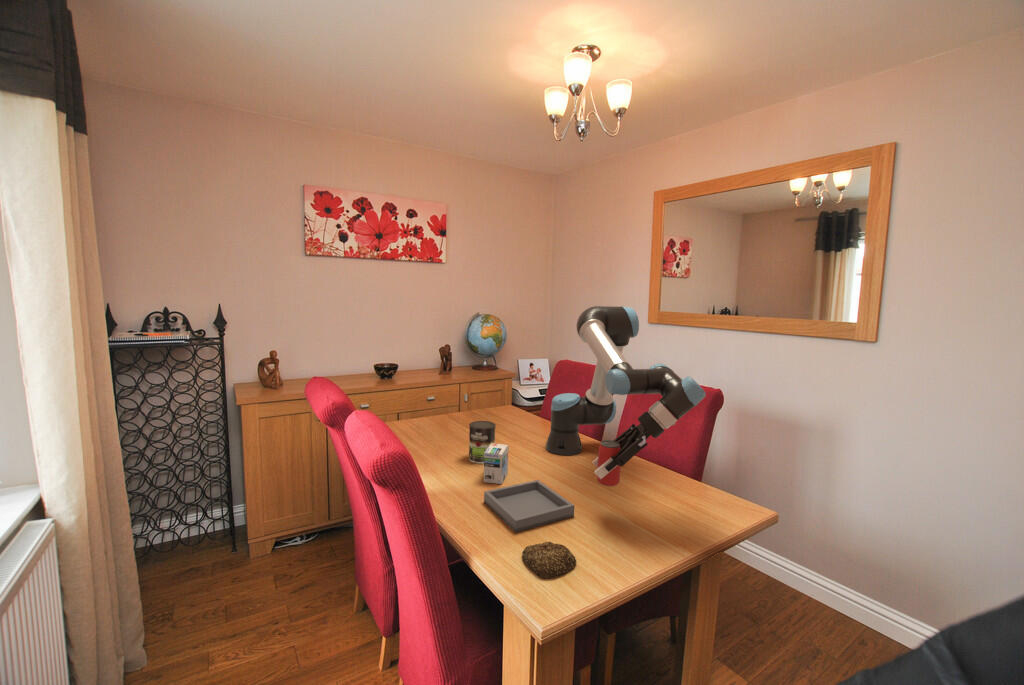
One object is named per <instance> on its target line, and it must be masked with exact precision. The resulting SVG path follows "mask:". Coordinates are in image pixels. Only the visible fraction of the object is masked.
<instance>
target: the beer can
mask: <svg viewBox="0 0 1024 685" xmlns="http://www.w3.org/2000/svg"><path fill="white" fill-rule="evenodd" d="M620 450H621V448H620V444H619V443H618V442H616V441H613V440H609V439H608V440H607V439H606V440H602V441H600V445H599V447H598V455H597V458H598V468H599V467H600V466H601V465H603V464H604V463H605V462H606V461H607V460H609V459H610V458H611V456H613V457H614V456H615V455H616V454H617V453H618V452H619V451H620ZM598 468H597V469H598ZM596 481H597V482H598V483H599V484H600V485H602V486H605V487H615V486H618V485H619V483H621V482H620V481H621V466H620V465H619V466H616V467H615V468H614V469H613V470H612V471H610V472H609V473H608V474H607V475H606V476H604V477H603V478H602V479H600V478H599V477H598V476H597V475H596Z"/></svg>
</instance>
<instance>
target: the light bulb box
mask: <svg viewBox="0 0 1024 685" xmlns="http://www.w3.org/2000/svg"><path fill="white" fill-rule="evenodd" d="M508 473H509V445H508V444H502V443H496V442H495V443H491V444H490V446H489V447H488V448H487V450H486V451H485V452H484V464H483V483H488V484H496V485H497V484H498V485H502V484H503V482H504V481H505V479H506V478H507V476H508V475H509V474H508Z"/></svg>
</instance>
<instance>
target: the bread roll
mask: <svg viewBox="0 0 1024 685" xmlns="http://www.w3.org/2000/svg"><path fill="white" fill-rule="evenodd" d="M523 549H524V550H523V551H522V554H521V555H522V560H523V562H524V563H525V565H527V567H528V568H529V569H530V570H531V571H532V572H534V573H535V574H536V575H537V576H538V577H540V578H542V579H553V578H554V579H555V578H557V577H560V576H564V575H566V574H567V573H568V572H570V571H571V570H573V569H575V567H576V565H577V559H576V557H575V555H574V554H573V553H572V552H571V550H570V549H569V548H567V546H565V545H564V544H561V543H554V542H553V541H544V542H542V543H540V542H539V543H535V544H532V545H531V544H530V545H527V546H526V547H525V548H523Z"/></svg>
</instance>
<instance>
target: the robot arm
mask: <svg viewBox="0 0 1024 685" xmlns="http://www.w3.org/2000/svg"><path fill="white" fill-rule="evenodd" d="M576 331H577V334H578V336H579V338H580V339H581V341H582V342H583V343H586V344H587V345H588V346H589V348H590V350H591V351H592V354H593V355H594V356H595V358H596V359H597V360H596V364H595V368H594V373H593V378H592V380H591V381H592V382H591V385H590V388H588V389H587V390H586V392H585V395H584V396H581V395H580V394H578V393H573V392H572V393H571V392H567V393H565V392H564V393H560V394H557V395H555V396H554V397H553V398H552V400H551V406H550V410H551V412H550V414H551V415H550V432H549V434H548V437H547V440H546V442H545V449H546V451H547V452H549V453H551V454H553V455H558V456H575V455H578V454H580V453H581V452H582V451H583V450H582V449H583V444H582V440H581V437H580V433H579V426H585V425H586V426H588V425H590V426H591V425H592V426H593V425H595V426H596V425H598V426H599V425H600V426H601V425H608V424H611V423H612V422H613V421H614V419H615V417H616V413H617V403H616V400H615V399H614V396H613V395H620V396H625V395H627V396H629V395H657V394H659V395H661V396H662V397H661V398H660V399H659V400H657V401H656V402H655V403H653V404H652V405H650V407H648V411H644V412H643V413H642V414H641V415H640V416H639V417H637V421H638V423H639V424H637V425H635V423H632V424H631V425H630V426H629V427H628V428H627V429H625V431H624V432H622V433H621V434H620V435H618V436H617V437H616V438H615V439H614V440H612V441H616V442H618V443H619V444H620V448H621V450H620V451H619V452H618V453H617V454H616V455H615V456H614V457H613V456H611V458H610V459H609V460H607V461H606V462H605V463H604V464H603V465H601V466H600V467H599V468H598V457H596V458H595V459H594V460H592V464H593V465H594V466H595V467H596V469H595V470H594V474H595V475H596V477H597V476H598V477H599V478H600V479H602V478H603V477H604V476H606V475H607V474H608V473H609V472H610V471H612V470H613V469H614V468H615V467H616V466H619V465H620V466H621V467H623V466H624V465H625V464H627V463H628V462H629V461H630V460H632V458H633V457H635V455H637V454H638V453H639V452H640V451H641V450H642V449H644V448H646V447H647V446H648V445H649V444H648V442H647V440H648V439H649V438H650V436H651V437H652V438H653V439H658V437H660V436H661V435H662V434H663V433H665V430H668V429H669V428H670V427H671V426H675V425H676V423H677V421H679V420H680V419H681V418H682V417H683V416H685V415H686V414H688V412H690V411H691V410H692V409H693V408H695V407H696V406H698V404H699V403H701V402H702V400H704V399H705V398H706V396H707V394H706V391H705V389H704V388H702V387H701V385H700V384H699V383H698V382H697V381H696V380H695V379H693V378H692V377H691V376H686V377H685V378H681V377H680V376H679V375H677V373H676V372H674V370H673V369H671V368H670V367H668V366H667V365H665V364H664V363H655V364H653V365H651V366H650V367H649V368H635V369H634V368H633V367H632V365H630V363H629V361H628V360H627V359H626V358H625V356H624V355H623V349H624V347H627V346H628V345H629V343H630V338H631V339H633V338H635V337H637V336H638V334H639V331H640V321H639V316H638V314H637V312H636V311H635V309H634V308H633V307H629V306H623V305H621V306H603V305H602V306H601V305H595V306H590V307H588V308H586V309H585V310H584V311H582V312H581V313H580V315H579V316H578V319H577V321H576ZM621 467H620V468H621Z"/></svg>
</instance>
